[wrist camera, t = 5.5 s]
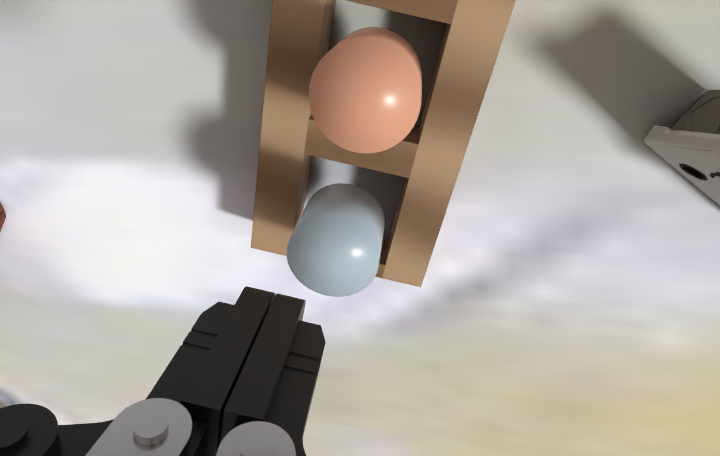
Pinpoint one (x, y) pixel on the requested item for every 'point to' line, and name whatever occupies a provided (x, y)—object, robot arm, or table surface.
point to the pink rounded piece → (367, 91)
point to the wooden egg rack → (407, 158)
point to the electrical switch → (693, 144)
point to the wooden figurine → (2, 216)
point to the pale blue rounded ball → (337, 241)
